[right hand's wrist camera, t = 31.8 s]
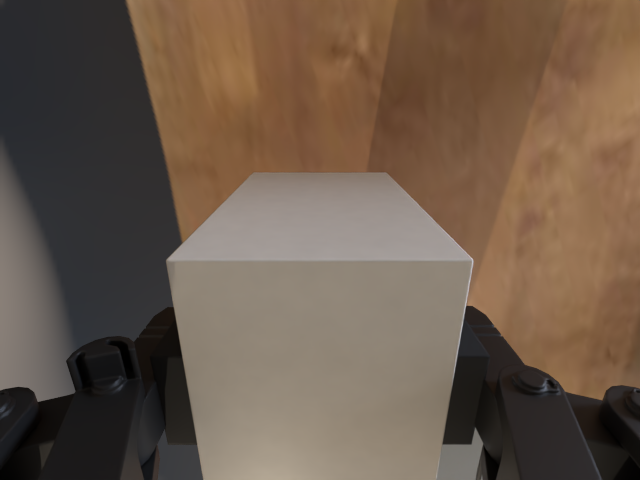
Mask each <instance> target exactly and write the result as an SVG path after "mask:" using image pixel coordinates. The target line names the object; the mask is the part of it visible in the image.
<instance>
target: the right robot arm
mask: <svg viewBox="0 0 640 480" xmlns="http://www.w3.org/2000/svg"><path fill="white" fill-rule="evenodd" d="M66 362H67V365H68V368H69V372H70V375H71V378H72V381H73V384H74V387H75V390H76V392H75V393H74V394H71V395H67V396H63V397H58V398H54V399H49V400H45V401H41V402H37V399H36V396H35V394H34V392H33V391H32V390H30V389H29V388H23V387H15V388H9V389H4V390H1V391H0V480H157V479H158V470H159V461H160V458H159V451H158V446H157V443H158V441H159V439H160V437H161V435H162V433H163V431H164V429H165V432H166V437H167V441H168V445H197V439H196V434H195V428H194V422H193V416H192V410H191V404H190V398H189V393H188V387H187V381H186V375H185V369H184V363H183V357H182V352H181V346H180V340H179V334H178V328H177V322H176V316H175V310H174V307H167V308H166V309H164V310H163V311H161V312H160V313H158V314H157V315H155V316H154V317H153V318H152V320H151V321H150V322H149V324H148V325H147V326H146V329H144V330H143V331H142V332H141V334H140V335H139V338H137V339H136V340H135V341H134V342H133V341H132V340H130V339H129V338H126V337H121V336H115V337H106V338H102V339H98V340H95V341H93V342H90V343H88V344H86V345H84V346H82V347H81V348H79V349H78V350H76V351H75V352H73V353H72V355H71V356H70V357H69V358H68V359H67V361H66ZM475 428H476V430H477V432H478V434H479V436H480V438H481V440H482V442H483V446H482V451H481V455H480V459H479V464H478V468H477V473H476V480H481V477H482V478H483V480H640V389H638V388H635V387H629V386H623V385H621V386H612V387H610V388H609V389H608V390H606V393H605V395H604V398H603V401H602V400H597V399H593V398H588V397H584V396H580V395H575V394H571V393H568V392H565V391H564V390H563V388H562V387H561V385H560V384H559V382H557V381H556V380H555V379H554V378H552V377H551V376H550V375H549V374H547V373H545V372H543V371H541V370H539V369H537V368H534V367H530V366H527V365H525V364H524V363H523V362H522V360H521V359H520V358H519V357H518V355H517V354H516V353H515V352H514V350H513V349H512V348H511V346H510V345H509V344H508V343H507V341H506V340H505V339H504V338H503V336H501V334H500V333H499V331H498V330H497V329H496V328H494V325H493V324H492V322H491V321H490V320H489V319H488V317H487V316H486V315H485V314H483V313H482V312H480V311H479V310H477V309H476V308H474V307H473V306H466V308H465V314H464V320H463V326H462V332H461V337H460V343H459V349H458V355H457V361H456V367H455V373H454V379H453V385H452V390H451V396H450V402H449V408H448V414H447V420H446V426H445V432H444V438H443V443H442V445H472V440H473V436H474V431H475Z"/></svg>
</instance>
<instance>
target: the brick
mask: <svg viewBox="0 0 640 480" xmlns="http://www.w3.org/2000/svg"><path fill="white" fill-rule="evenodd" d="M166 263H167V269H168V275H169V281H170V287H171V293H172V299H173V305H174V310H175V316H176V322H177V328H178V334H179V340H180V346H181V352H182V357H183V363H184V369H185V375H186V381H187V387H188V393H189V398H190V404H191V410H192V416H193V422H194V428H195V434H196V439H197V445H198V451H199V456H200V463H201V469H202V475H203V480H436V479H437V473H438V467H439V461H440V455H441V449H442V443H443V438H444V432H445V426H446V420H447V414H448V408H449V402H450V396H451V390H452V385H453V379H454V373H455V367H456V361H457V355H458V349H459V343H460V337H461V332H462V326H463V320H464V314H465V308H466V302H467V296H468V290H469V285H470V279H471V273H472V267H473V259H472V258H471V257H470V256H469V255H468V254H467V253H466V252H465V251H464V250H463V249H462V248H461V247H460V246H459V245H458V244H457V243H456V242H455V241H454V240H453V239H452V238H451V237H450V236H449V235H448V234H447V233H446V232H445V231H444V230H443V229H442V228H441V227H440V226H439V225H438V224H437V223H436V222H435V221H434V220H433V219H432V218H431V217H430V216H429V215H428V214H427V213H426V212H425V211H424V210H423V209H422V208H421V207H420V206H419V205H418V204H417V203H416V202H415V201H414V200H413V199H412V198H411V197H410V196H409V195H408V194H407V193H406V192H405V191H404V190H403V189H402V188H401V187H400V186H399V185H398V184H397V183H396V181H395V180H394V179H393V178H392V177H391V176H390V175H389V174H388V173H386V172H254V173H252V174H251V175H250V176H249V177H248V178H247V179H246V180H245V181H244V182H243V183H242V184H241V185H240V186H239V187H238V188H237V189H236V190H235V191H234V192H233V193H232V194H231V195H230V196H229V197H228V198H227V199H226V200H225V201H224V202H223V203H222V204H221V205H220V206H219V207H218V208H217V209H216V210H215V211H214V212H213V213H212V214H211V215H210V216H209V217H208V218H207V219H206V220H205V221H204V222H203V223H202V224H201V225H200V226H199V227H198V228H197V229H196V230H195V231H194V232H193V233H192V234H191V235H190V236H189V237H188V238H187V239H186V240H185V241H184V242H183V243H182V244H181V246H180V247H179V248H178V249H177V250H176V251H175V252H174V253H173V254H172V255H171V256H170V257H169V258H168V259H167V260H166Z"/></svg>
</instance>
